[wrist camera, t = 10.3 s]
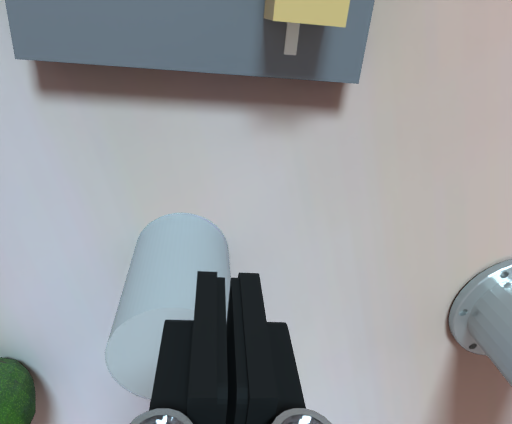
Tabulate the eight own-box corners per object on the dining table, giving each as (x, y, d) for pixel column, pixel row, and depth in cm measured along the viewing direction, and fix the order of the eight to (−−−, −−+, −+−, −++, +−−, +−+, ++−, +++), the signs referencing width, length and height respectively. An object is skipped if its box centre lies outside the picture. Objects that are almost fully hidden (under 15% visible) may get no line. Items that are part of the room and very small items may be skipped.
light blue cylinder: (144, 293, 38) (119, 408, 27) (127, 217, 34) (91, 315, 23) (231, 285, 38) (240, 393, 28) (224, 208, 34) (232, 300, 24)
